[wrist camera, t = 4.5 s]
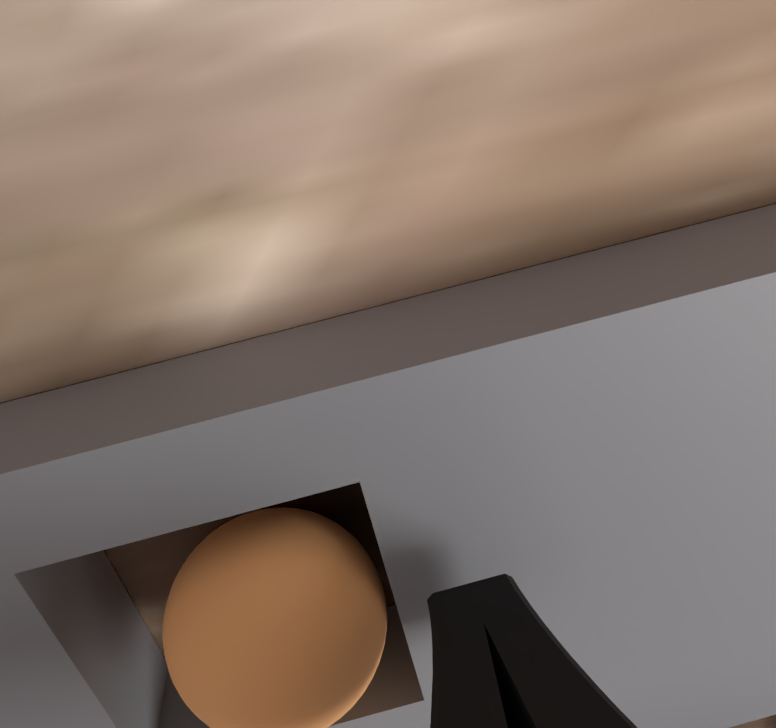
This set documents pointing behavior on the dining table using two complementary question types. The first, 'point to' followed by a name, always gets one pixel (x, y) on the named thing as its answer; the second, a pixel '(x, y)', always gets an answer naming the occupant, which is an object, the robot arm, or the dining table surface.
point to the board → (439, 480)
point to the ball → (275, 622)
